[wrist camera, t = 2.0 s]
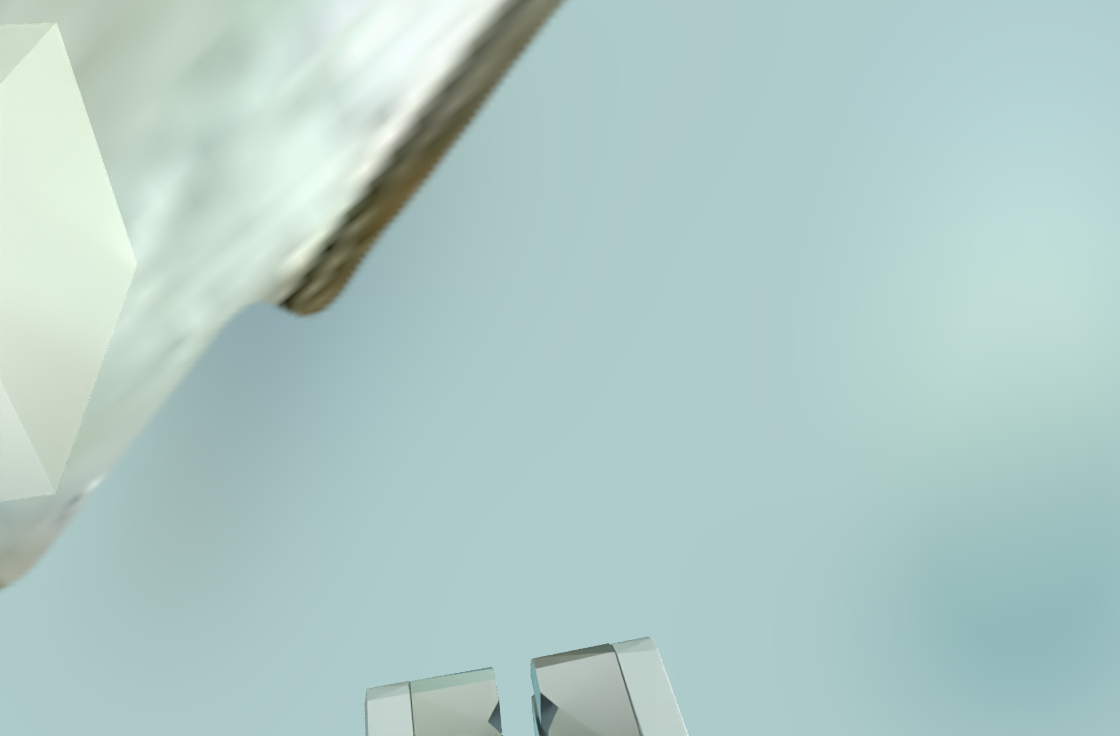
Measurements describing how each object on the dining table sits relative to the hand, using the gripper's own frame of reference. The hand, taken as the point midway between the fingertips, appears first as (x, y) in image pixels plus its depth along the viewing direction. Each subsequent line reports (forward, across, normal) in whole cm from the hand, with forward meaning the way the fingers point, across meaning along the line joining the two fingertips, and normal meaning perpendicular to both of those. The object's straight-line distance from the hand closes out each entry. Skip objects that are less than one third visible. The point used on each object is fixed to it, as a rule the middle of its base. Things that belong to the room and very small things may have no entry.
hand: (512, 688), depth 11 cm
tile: (+29, +13, +4) cm, 32 cm away
